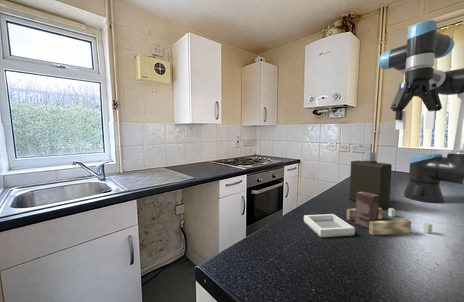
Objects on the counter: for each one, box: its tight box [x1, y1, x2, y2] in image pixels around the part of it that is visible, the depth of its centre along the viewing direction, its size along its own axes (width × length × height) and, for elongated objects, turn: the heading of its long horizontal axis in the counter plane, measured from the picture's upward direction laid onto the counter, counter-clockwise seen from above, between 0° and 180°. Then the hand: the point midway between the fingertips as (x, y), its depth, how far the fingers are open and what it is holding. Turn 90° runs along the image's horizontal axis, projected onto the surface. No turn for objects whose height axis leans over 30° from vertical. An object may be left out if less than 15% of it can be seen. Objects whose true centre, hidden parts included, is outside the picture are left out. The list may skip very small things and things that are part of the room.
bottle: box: [348, 151, 392, 210], centre depth 98 cm, size 8×16×25 cm, turn 28°
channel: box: [346, 208, 412, 236], centre depth 75 cm, size 14×13×4 cm
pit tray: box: [303, 213, 356, 238], centre depth 73 cm, size 12×12×2 cm
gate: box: [387, 207, 433, 234], centre depth 76 cm, size 2×16×3 cm, turn 6°
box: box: [354, 192, 379, 230], centre depth 74 cm, size 6×4×12 cm
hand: (415, 129), depth 74 cm, fingers open, 13 cm apart
